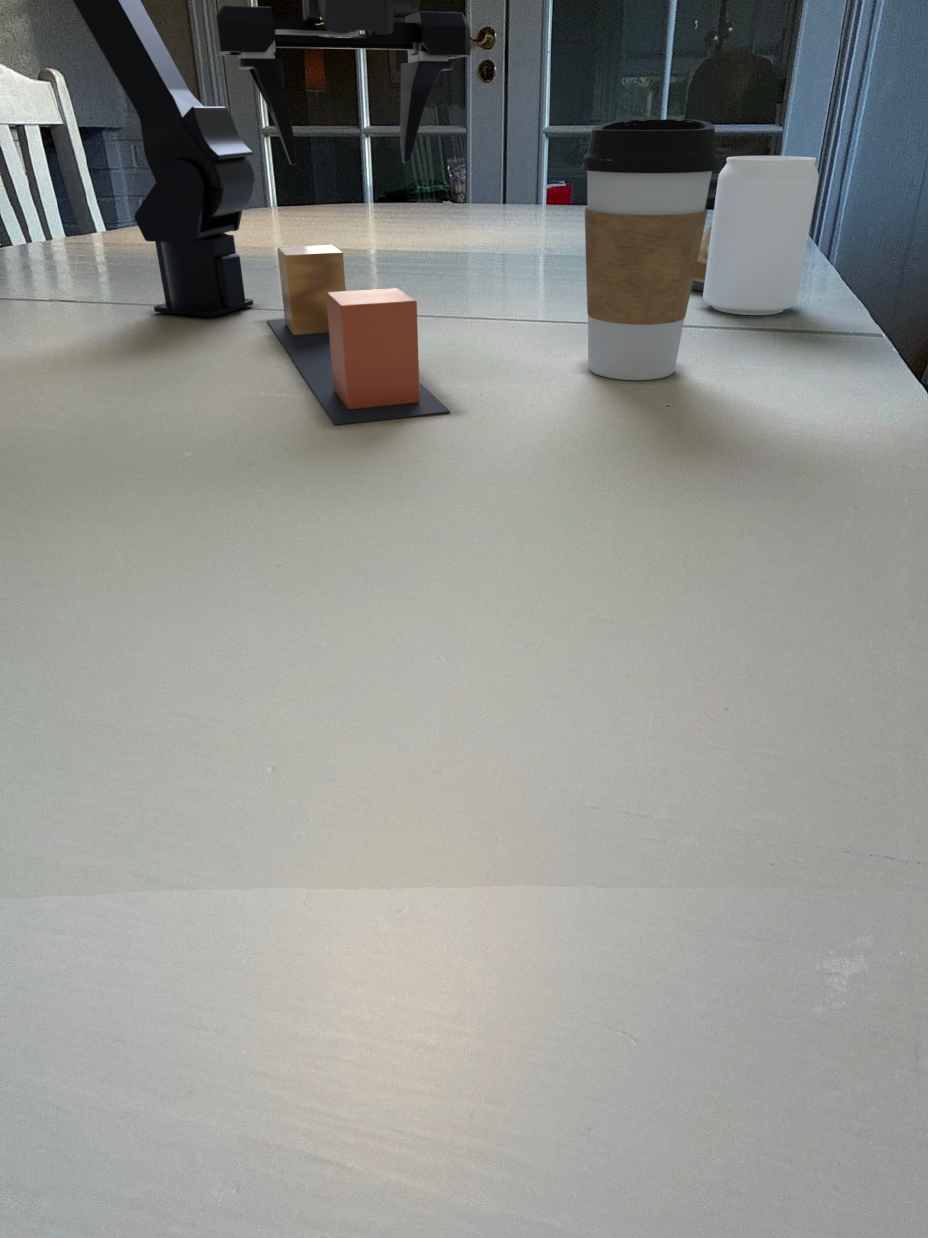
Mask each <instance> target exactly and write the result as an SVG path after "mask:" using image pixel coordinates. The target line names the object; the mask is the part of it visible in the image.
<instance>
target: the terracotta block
mask: <svg viewBox="0 0 928 1238" xmlns="http://www.w3.org/2000/svg"><path fill="white" fill-rule="evenodd" d="M326 300H327V312H328V324H329V337H330V349H331V361H332V373H333V386H334V391H335V392H336V393H337V395H338V396H339V397H340V399H341V400H342V401H343V403H344V404H345V406H346V407H347V408H348V409H349V410H351V409H361V408H371V407H381V406H390V405H400V404H410V403H419V402H420V391H419V382H420V365H419V363H420V362H419V329H418V302H417V300H416V299H414V298H412V297H411V296H409V295H408V294H407V293H405V292H403V291H402V290H401V289H399V288H398V287H391V288H375V289H359V290H346V291H341V292H327V293H326Z"/></svg>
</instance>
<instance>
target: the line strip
mask: <svg viewBox="0 0 928 1238" xmlns="http://www.w3.org/2000/svg"><path fill="white" fill-rule="evenodd" d="M266 323H268V325H269V326H270V328H271V330H272V331H273V333H274V334H275V336H276V337H277V339H278V340H279V342H280V343H281V345H282V347H283V349H284V350H285V351H286V352H287V353H286V354H288V356H289V357H290V359H291V360H292V362H293V363H294V365H295V367H296V368H297V369H298V371H299V372H300V374H301V375H302V377H303V379H304V380H305V382H306V383H307V385H308V386H309V388H310V389H311V391H312V393H313V394H314V395H315V397H316V399H317V400H318V401H319V403H320V405H321V406H322V408H323V410H324V411H325V412H326V414H327V415H328V418H329V419H330V420H331V422H332V423H333V425H334V426H339V425H347V424H357V423H365V422H366V423H367V422H376V421H386V420H394V419H404V418H413V417H414V418H415V417H425V416H433V415H442V414H443V415H444V414H451V410H450V409H449V408H448V407H447V406H445V404H444V403H443V402H441V401H440V400H439V399H438V398H437V397H436V396H435V395H434V394H433V393H432V392H431V391H429V390H428V389H427V388H426V386H424V385H423V384H422V383H421V382H420V381H419V391H420V402H419V403H410V404H400V405H390V406H381V407H371V408H361V409H351V410H349V409H348V408H347V407H346V406H345V404H344V403H343V401H342V400H341V399H340V397H339V396H338V395H337V393H336V392H335V391H334V386H333V373H332V361H331V349H330V337H329V333H320V334H306V335H293V334H292V332H291V331H290V330H289V328H288V327H287V326H286V324H285V318H282V319H280V318H279V319H267V320H266Z"/></svg>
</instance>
